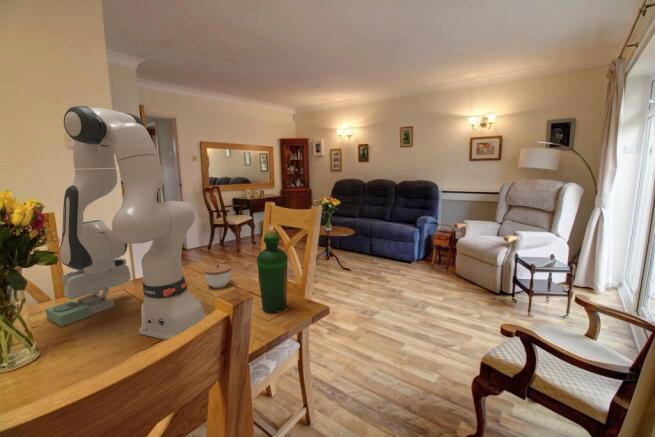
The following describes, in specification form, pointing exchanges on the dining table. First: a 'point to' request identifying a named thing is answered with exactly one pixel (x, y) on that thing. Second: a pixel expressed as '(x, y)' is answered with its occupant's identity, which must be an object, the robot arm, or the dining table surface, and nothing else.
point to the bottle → (272, 274)
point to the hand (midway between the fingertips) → (102, 301)
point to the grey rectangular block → (90, 300)
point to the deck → (74, 311)
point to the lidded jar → (218, 275)
